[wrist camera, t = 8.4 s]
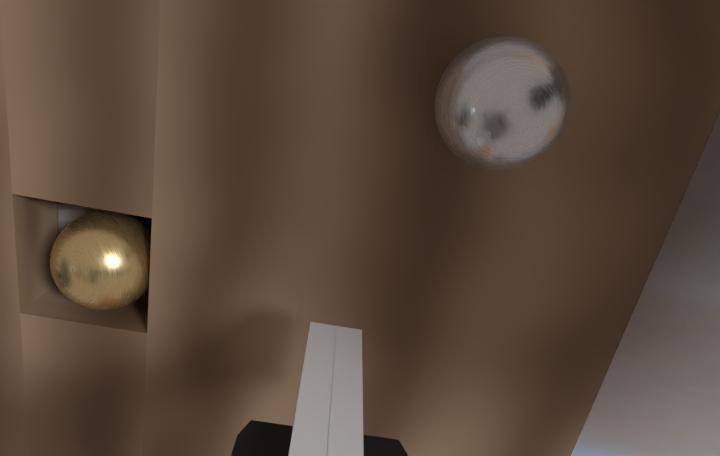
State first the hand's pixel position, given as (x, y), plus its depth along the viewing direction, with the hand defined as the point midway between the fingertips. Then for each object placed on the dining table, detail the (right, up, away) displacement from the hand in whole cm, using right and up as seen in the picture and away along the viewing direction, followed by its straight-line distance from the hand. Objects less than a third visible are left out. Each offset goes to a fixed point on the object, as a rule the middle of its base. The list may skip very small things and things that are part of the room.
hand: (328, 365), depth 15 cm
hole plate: (-3, +3, +5) cm, 6 cm away
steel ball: (+5, +7, -1) cm, 9 cm away
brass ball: (-8, +3, +3) cm, 9 cm away
